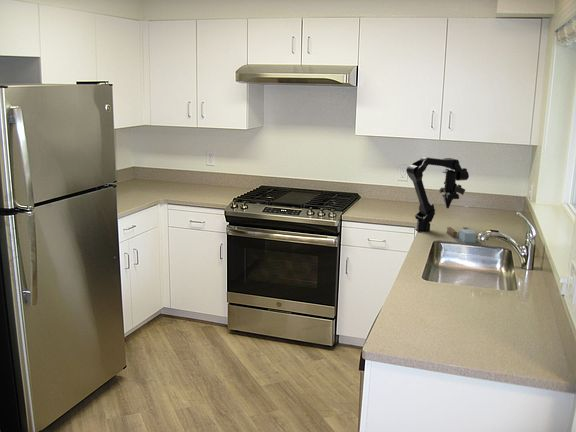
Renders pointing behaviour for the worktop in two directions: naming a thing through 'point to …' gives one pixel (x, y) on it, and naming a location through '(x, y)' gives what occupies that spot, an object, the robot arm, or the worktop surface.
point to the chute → (453, 232)
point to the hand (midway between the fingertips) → (447, 208)
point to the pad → (463, 242)
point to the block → (467, 235)
